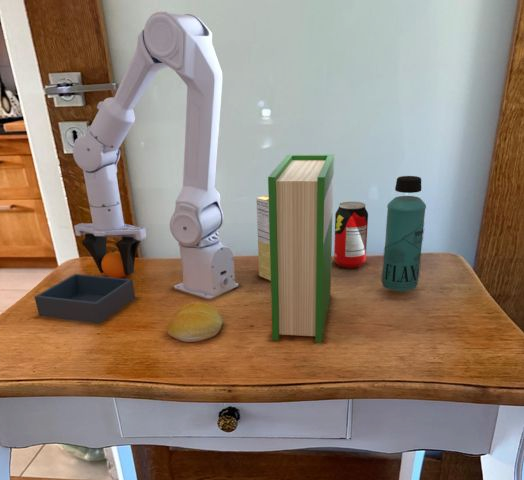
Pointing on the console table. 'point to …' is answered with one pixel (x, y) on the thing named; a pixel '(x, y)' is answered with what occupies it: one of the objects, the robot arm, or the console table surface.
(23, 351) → the console table surface
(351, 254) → the beverage can
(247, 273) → the console table surface
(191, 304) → the bread roll
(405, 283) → the beverage bottle
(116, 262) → the orange
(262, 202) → the candy box
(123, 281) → the dark gray tray
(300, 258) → the hardback book
